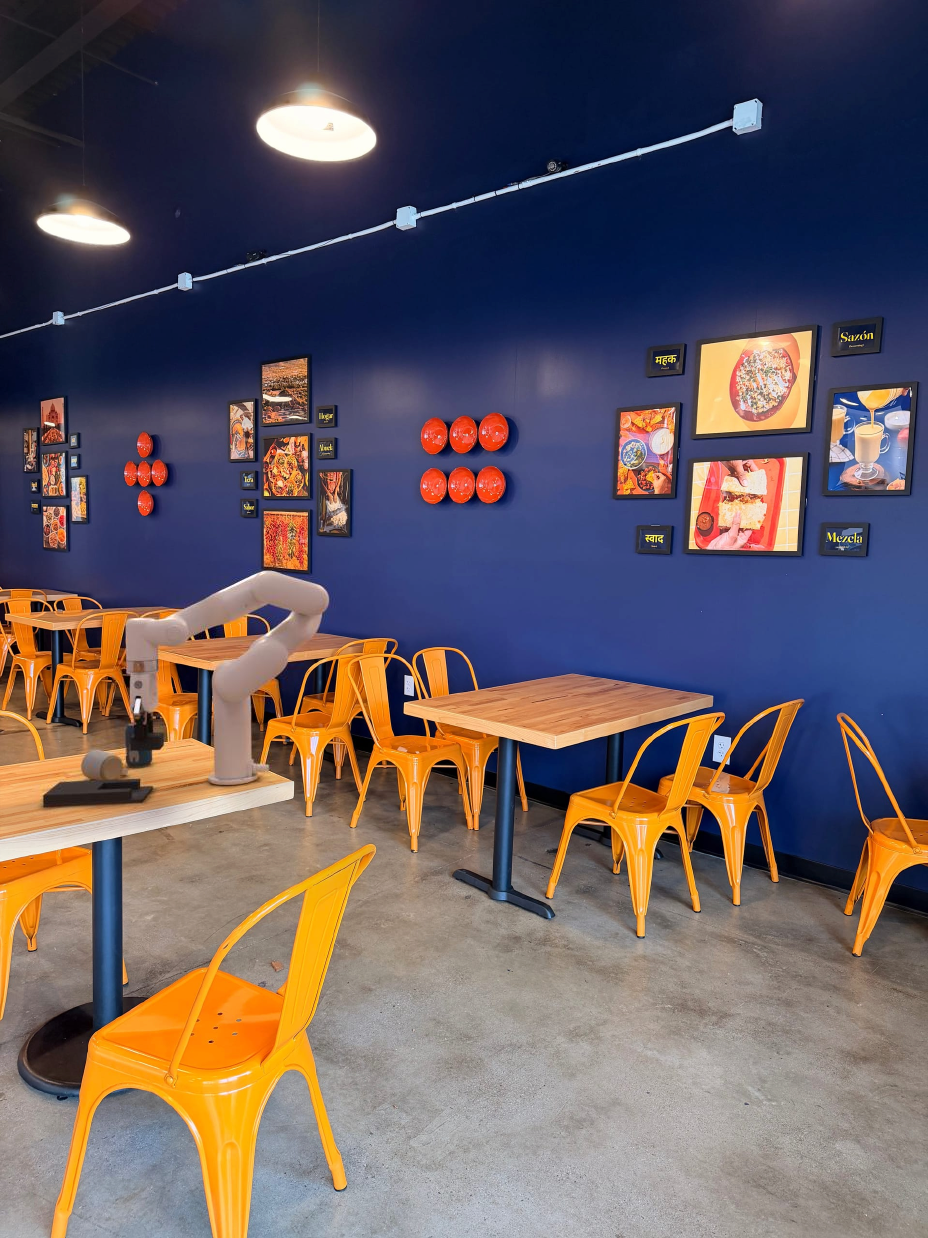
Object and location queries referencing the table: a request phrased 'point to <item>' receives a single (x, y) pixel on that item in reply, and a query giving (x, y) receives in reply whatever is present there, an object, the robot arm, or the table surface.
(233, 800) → the table surface
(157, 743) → the loose pad
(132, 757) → the soda can
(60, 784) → the pad base
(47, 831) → the table surface
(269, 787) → the table surface
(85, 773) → the ceramic mug
